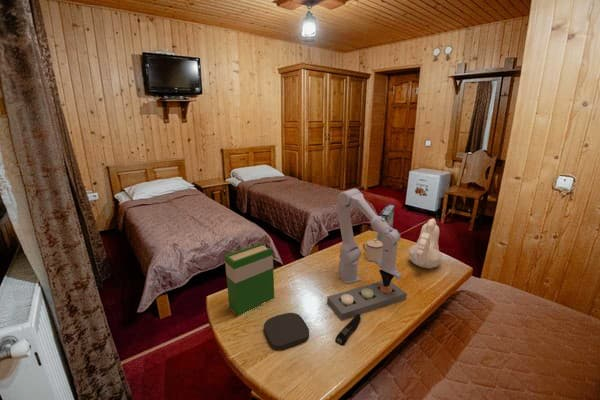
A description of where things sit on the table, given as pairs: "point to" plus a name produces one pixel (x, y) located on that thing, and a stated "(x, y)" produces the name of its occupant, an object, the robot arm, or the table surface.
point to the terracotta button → (386, 289)
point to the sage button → (367, 293)
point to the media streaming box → (286, 331)
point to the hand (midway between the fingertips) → (386, 285)
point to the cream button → (347, 299)
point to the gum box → (387, 216)
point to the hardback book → (249, 277)
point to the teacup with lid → (373, 250)
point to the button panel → (365, 305)
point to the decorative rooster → (426, 247)
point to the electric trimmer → (347, 330)
